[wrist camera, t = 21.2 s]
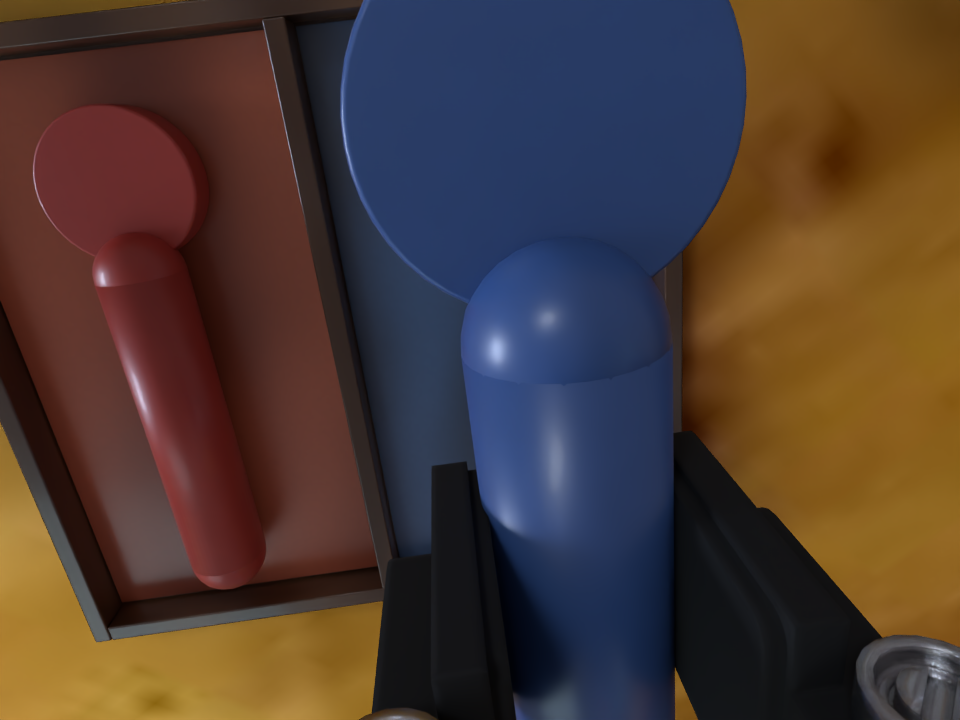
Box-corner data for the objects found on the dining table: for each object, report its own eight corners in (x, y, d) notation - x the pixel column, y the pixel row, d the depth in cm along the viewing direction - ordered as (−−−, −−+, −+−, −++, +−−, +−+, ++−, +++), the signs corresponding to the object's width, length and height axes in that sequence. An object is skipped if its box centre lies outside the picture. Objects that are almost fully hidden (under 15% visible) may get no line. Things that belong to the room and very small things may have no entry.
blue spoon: (696, 827, 13) (754, 983, 11) (481, 860, 13) (492, 1025, 10) (707, -110, 7) (839, -221, 5) (319, -65, 7) (262, -157, 5)
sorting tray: (117, 608, 25) (95, 643, 23) (-111, 48, 18) (-167, 41, 16) (665, 529, 26) (682, 558, 24) (661, -42, 18) (684, -57, 17)
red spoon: (305, 549, 24) (292, 595, 22) (188, 566, 24) (162, 614, 22) (187, 95, 18) (151, 92, 16) (32, 114, 18) (-27, 113, 16)
